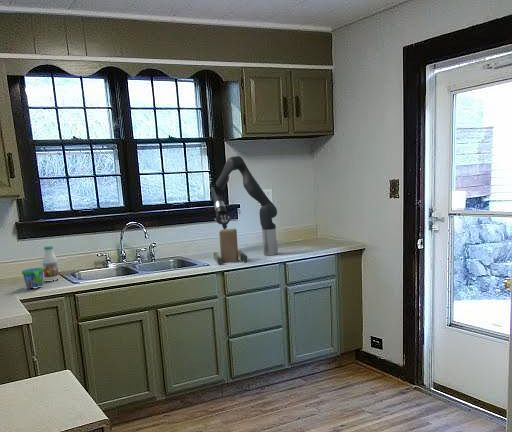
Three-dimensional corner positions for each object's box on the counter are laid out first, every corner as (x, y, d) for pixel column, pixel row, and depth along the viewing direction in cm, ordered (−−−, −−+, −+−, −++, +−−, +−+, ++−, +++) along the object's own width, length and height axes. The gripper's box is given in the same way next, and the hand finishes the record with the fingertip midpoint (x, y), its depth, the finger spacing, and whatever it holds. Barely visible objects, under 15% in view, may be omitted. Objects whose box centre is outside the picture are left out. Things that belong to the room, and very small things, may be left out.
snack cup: (21, 287, 254) (19, 269, 253) (42, 284, 260) (40, 266, 259) (26, 292, 241) (24, 273, 240) (48, 288, 247) (46, 269, 246)
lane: (240, 255, 312) (240, 250, 312) (247, 262, 287) (247, 256, 287) (214, 258, 309) (213, 252, 309) (218, 265, 284) (218, 258, 283)
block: (236, 262, 291) (234, 230, 289) (221, 262, 292) (218, 231, 290) (238, 259, 301) (236, 228, 299) (223, 259, 302) (221, 229, 300)
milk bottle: (42, 281, 268) (38, 247, 266) (55, 278, 273) (51, 245, 272) (48, 282, 263) (44, 247, 261) (61, 279, 268) (58, 245, 267)
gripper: (212, 205, 327) (217, 225, 318) (230, 205, 333) (235, 225, 323) (210, 211, 333) (214, 231, 324) (227, 211, 338) (232, 231, 329)
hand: (225, 228), depth 324 cm, fingers closed
